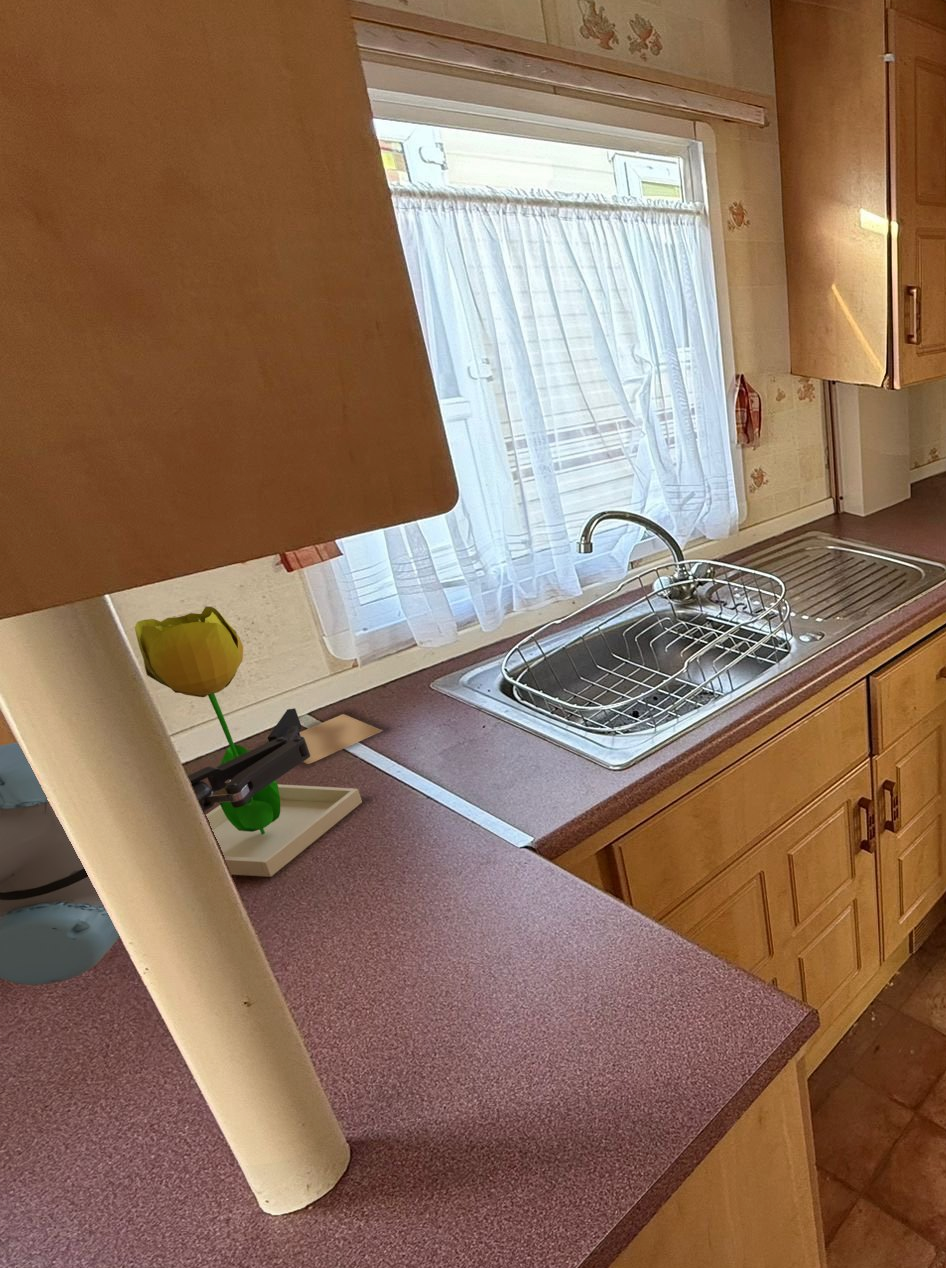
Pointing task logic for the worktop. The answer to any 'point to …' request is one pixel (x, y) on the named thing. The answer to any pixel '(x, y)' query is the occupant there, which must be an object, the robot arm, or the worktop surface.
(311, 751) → the cork mat
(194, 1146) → the worktop surface
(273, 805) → the flower
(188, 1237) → the worktop surface
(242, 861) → the baking tray
